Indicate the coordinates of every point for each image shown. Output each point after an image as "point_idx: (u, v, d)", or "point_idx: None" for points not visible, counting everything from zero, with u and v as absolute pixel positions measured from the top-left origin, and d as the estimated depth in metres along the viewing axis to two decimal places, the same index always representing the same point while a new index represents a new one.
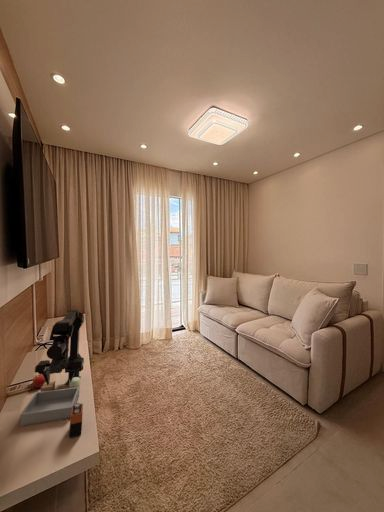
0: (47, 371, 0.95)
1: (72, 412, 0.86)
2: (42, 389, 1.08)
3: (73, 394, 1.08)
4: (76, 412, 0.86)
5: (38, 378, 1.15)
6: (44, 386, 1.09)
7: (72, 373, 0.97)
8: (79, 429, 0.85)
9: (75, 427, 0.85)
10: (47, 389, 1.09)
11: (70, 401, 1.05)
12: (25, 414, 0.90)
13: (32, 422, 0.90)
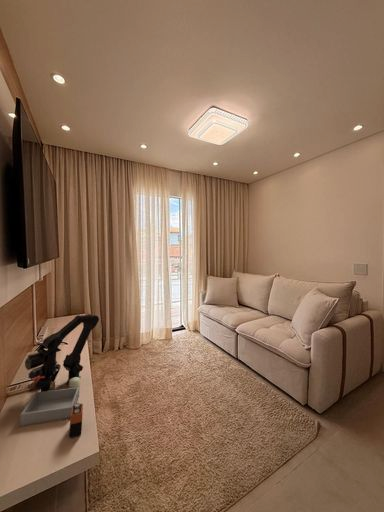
0: None
1: (72, 412, 0.86)
2: None
3: (73, 394, 1.08)
4: (76, 412, 0.86)
5: (39, 377, 1.16)
6: None
7: None
8: (79, 429, 0.85)
9: (75, 427, 0.85)
10: None
11: (70, 401, 1.05)
12: (25, 414, 0.90)
13: (32, 422, 0.90)
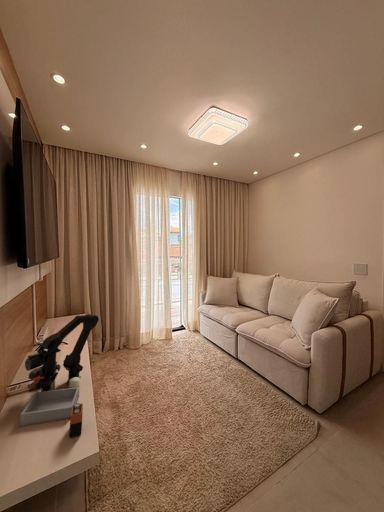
0: None
1: (72, 412, 0.86)
2: (42, 389, 1.08)
3: (73, 394, 1.08)
4: (76, 412, 0.86)
5: (39, 377, 1.16)
6: None
7: None
8: (79, 429, 0.85)
9: (75, 427, 0.85)
10: None
11: (70, 401, 1.05)
12: (25, 414, 0.90)
13: (32, 422, 0.90)
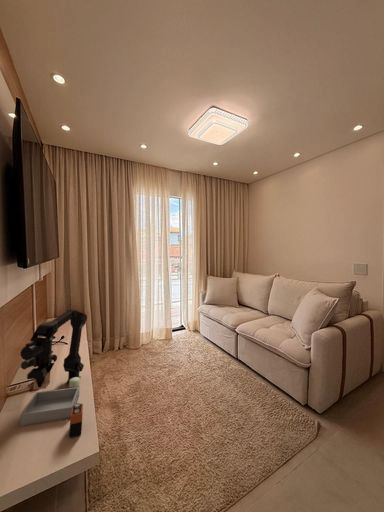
0: None
1: (72, 412, 0.86)
2: (35, 380, 0.97)
3: (73, 394, 1.08)
4: (76, 412, 0.86)
5: None
6: None
7: None
8: (79, 429, 0.85)
9: (75, 427, 0.85)
10: None
11: (70, 401, 1.05)
12: (25, 414, 0.90)
13: (32, 422, 0.90)
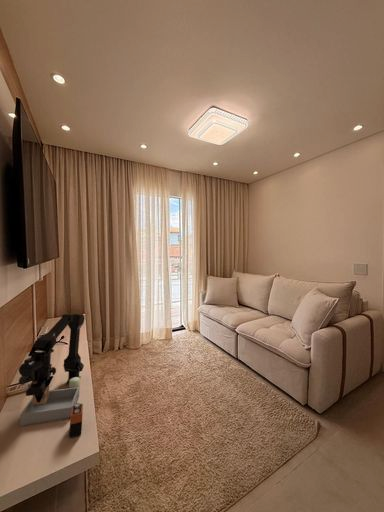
0: None
1: (72, 412, 0.86)
2: (34, 395, 0.95)
3: (73, 394, 1.08)
4: (76, 412, 0.86)
5: None
6: None
7: None
8: (79, 429, 0.85)
9: (75, 427, 0.85)
10: None
11: (70, 401, 1.05)
12: (25, 414, 0.90)
13: (32, 422, 0.90)
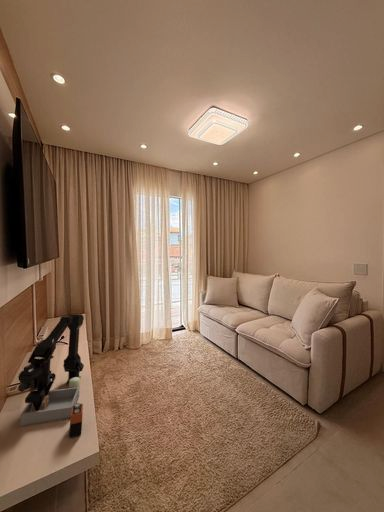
0: None
1: (72, 412, 0.86)
2: None
3: (73, 394, 1.08)
4: (76, 412, 0.86)
5: None
6: None
7: None
8: (79, 429, 0.85)
9: (75, 427, 0.85)
10: None
11: (70, 401, 1.05)
12: (25, 414, 0.90)
13: (32, 422, 0.90)
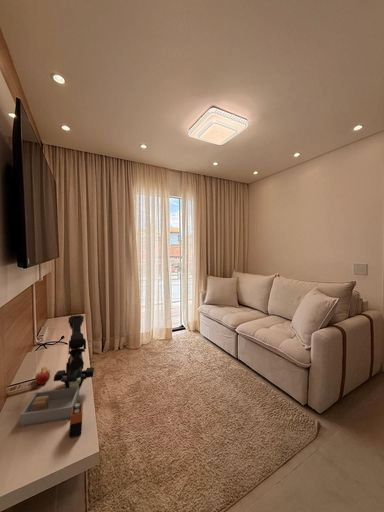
0: None
1: (72, 412, 0.86)
2: (34, 405, 0.95)
3: (73, 394, 1.08)
4: (76, 412, 0.86)
5: (41, 375, 1.18)
6: (36, 402, 0.96)
7: (81, 381, 1.12)
8: (79, 429, 0.85)
9: (75, 427, 0.85)
10: (39, 405, 0.96)
11: (70, 401, 1.05)
12: (25, 414, 0.90)
13: (32, 422, 0.90)
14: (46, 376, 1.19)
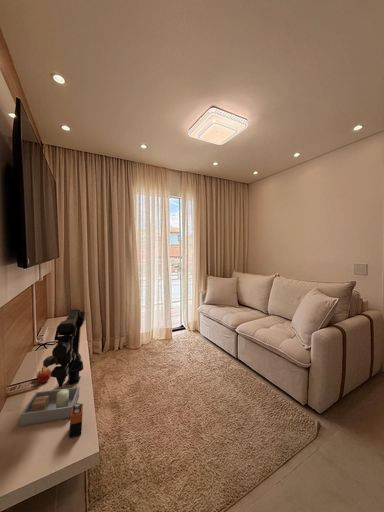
0: None
1: (72, 412, 0.86)
2: (34, 405, 0.95)
3: (73, 394, 1.08)
4: (76, 412, 0.86)
5: (42, 374, 1.20)
6: (36, 402, 0.96)
7: None
8: (79, 429, 0.85)
9: (75, 427, 0.85)
10: (39, 405, 0.96)
11: (70, 401, 1.05)
12: (25, 414, 0.90)
13: (32, 422, 0.90)
14: (47, 374, 1.21)
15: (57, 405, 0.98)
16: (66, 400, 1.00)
